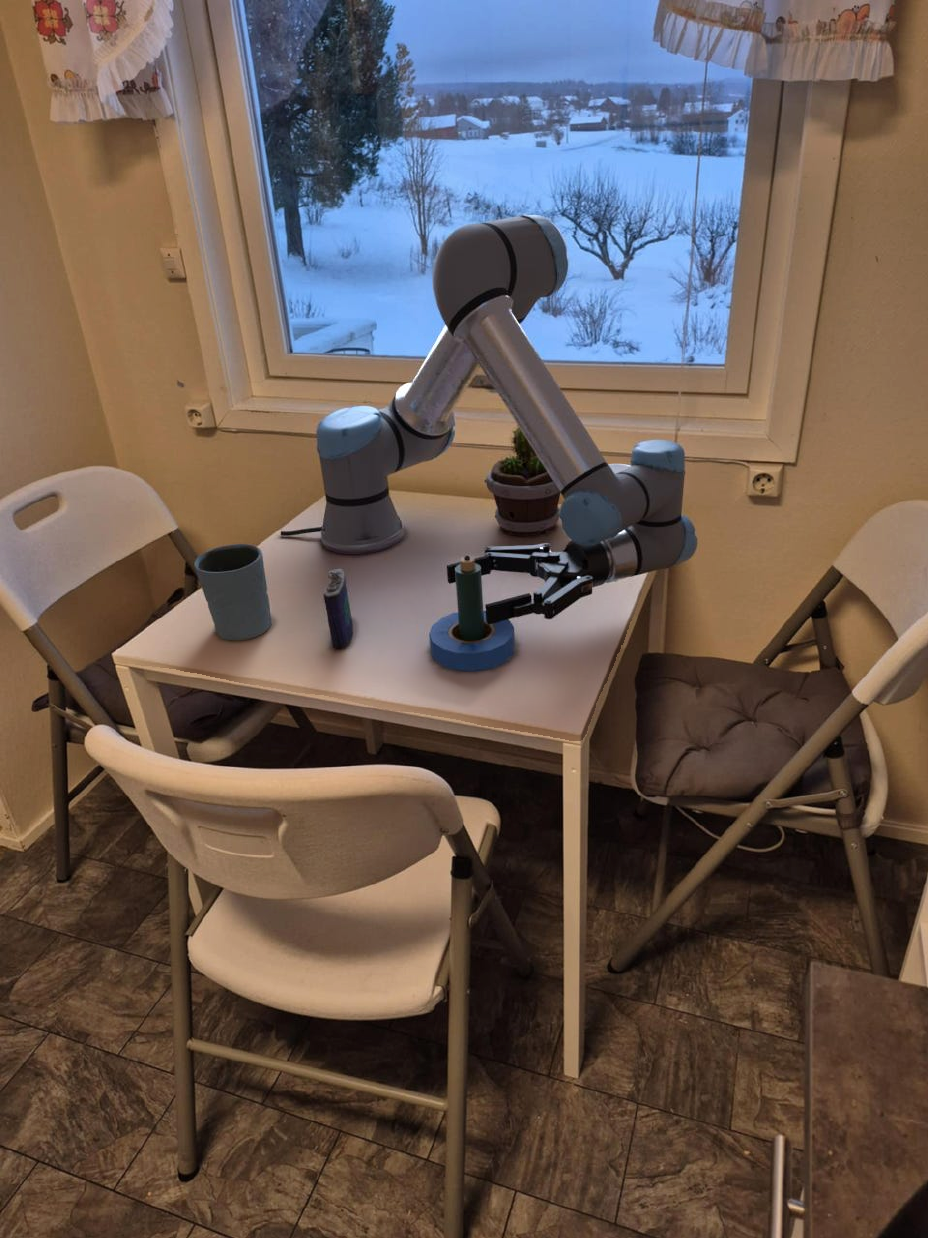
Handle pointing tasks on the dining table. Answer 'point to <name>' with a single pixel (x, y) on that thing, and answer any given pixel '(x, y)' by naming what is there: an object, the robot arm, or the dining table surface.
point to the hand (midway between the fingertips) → (466, 593)
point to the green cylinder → (470, 599)
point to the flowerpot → (523, 491)
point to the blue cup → (235, 590)
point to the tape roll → (471, 645)
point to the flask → (338, 610)
